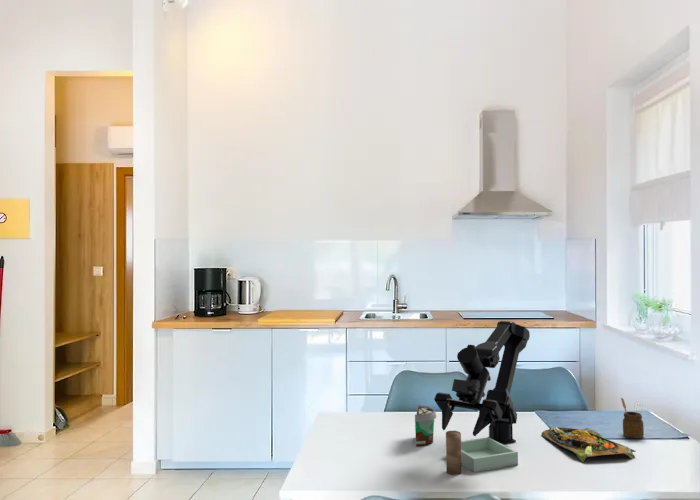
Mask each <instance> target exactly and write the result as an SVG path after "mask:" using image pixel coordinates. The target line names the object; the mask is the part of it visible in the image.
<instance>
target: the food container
mask: <svg viewBox="0 0 700 500" xmlns="http://www.w3.org/2000/svg"><path fill="white" fill-rule="evenodd" d="M436 418H437V413H436V410H435V409H434V407H432V406H429V405H421V404H418V405H417V411H416V414H414V423H415V425H414V427H415V428H414V429H415V447H418V448H419V447H427V446H428V447H429V446H431V445H433V443H434V431H435V429H434V428H435V419H436Z"/></svg>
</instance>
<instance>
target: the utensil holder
mask: <svg viewBox="0 0 700 500" xmlns="http://www.w3.org/2000/svg"><path fill="white" fill-rule="evenodd" d="M620 400H621V404H622V407H623V409H624V411H625V412H623V417H624V418H623V419H622V434H623V436H625V437H626V438H631V439H642V438H644V435H645V434H644V433H645V432H644V430H645V429H644V427H645V426H644V421H643V415H642V414H641V412H640V411H642V410H643V408H641V407H643V406H644V405H643V404H642V402H641V401H639V400H637V401H635V402H634V407H633V411H627V406H626V402H625V400H624V398H623V397H620ZM638 404H639V408H638V409H640V408H641V409H640V410H638V411H637V410H636V408H637V407H638ZM635 406H636V408H635Z"/></svg>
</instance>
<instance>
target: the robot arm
mask: <svg viewBox="0 0 700 500" xmlns="http://www.w3.org/2000/svg"><path fill="white" fill-rule="evenodd" d="M530 334H531V333H530V330H529V329H528V328H527V327H526V326H522V325H519V324H517V323H516V322H514V321H511V320H510V321H509V320H500V321H498V322H497V324H496V327H495V328H494V330H493V331H492V332H491V334H490V335H489V337H488V338H487V339H486V341H485V342H482V343H479V344H477V345H476V346H475V344H467V346H466V347H464V348H462V349H461V350H459V351H458V352H457V354H456V355H457V356H456V359H457V360H458V363H459V364H460V366H461V368H462V369H463V372H464V373H465V374H467V377H466V379H464V380H463V379H455V378H454V379H453V382H452V387H451V391H452V392H455V395H456V398H458V399H453V397H452V396H451V393H446V392H440V391H438V392H437V393H436V394H435V395H434V398H433V400H434V402H435V403H436V405H437V406H438V408H439V410H441V429H442V430H443V431H445V430H447V427H448V425H449V423H450V421H451V419H452V418H453V415H454V412H453V411H454V409H455V408H462V409H467V410H474V411H479V412H478V416H477V420H476V422H475V425H474V428H473V431H472V435H473V437H476V436H477V435H479V433H480V432H482V430H484V429H485V428H486V427H487V426H488V437H489V438H491V439H493V440H495V441H497V442H499V443H501V444H503V445H505V444H511V443H517V440H516V439H514V438H513V437H514V434H513V424H517V421H518V412H517V411H516V409H515V408H514V406H513V405H514V401H513V399H512V396H511V390H512V386H513V382H514V377H515V372H516V368H517V364H518V359H519V355H520V353H521V352H522V351H523V350H524V349H526V347H527V344H528V341H529V340H530V338H531V337H530V336H531V335H530ZM503 347H504V348H503ZM502 348H503V353H502V356H501V361H500V352H501V350H502ZM499 361H500V366H499V370H498V373H497V377H496V382H495V386H494V388H493V389H488V390H487V392H486V393H485V392H484V391H485V389H486V386H487V383H488V382H490V381H491V375H490V371H489V370H488V369H494V368H496V367H497V365H499ZM487 368H488V369H487ZM485 396H486V397H485ZM484 397H485V398H484ZM483 398H484V399H483ZM481 401H482V402H481Z"/></svg>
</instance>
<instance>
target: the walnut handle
mask: <svg viewBox="0 0 700 500" xmlns="http://www.w3.org/2000/svg"><path fill="white" fill-rule="evenodd" d="M461 441H462V433H461V432H460V431H458V430H446V431H445V453H446V454H445V458H446V459H445V461H446V474H447V475H449V476H460V475H462V472H463V470H462V469H463V468H462V466H463V465H462V460H461Z"/></svg>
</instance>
